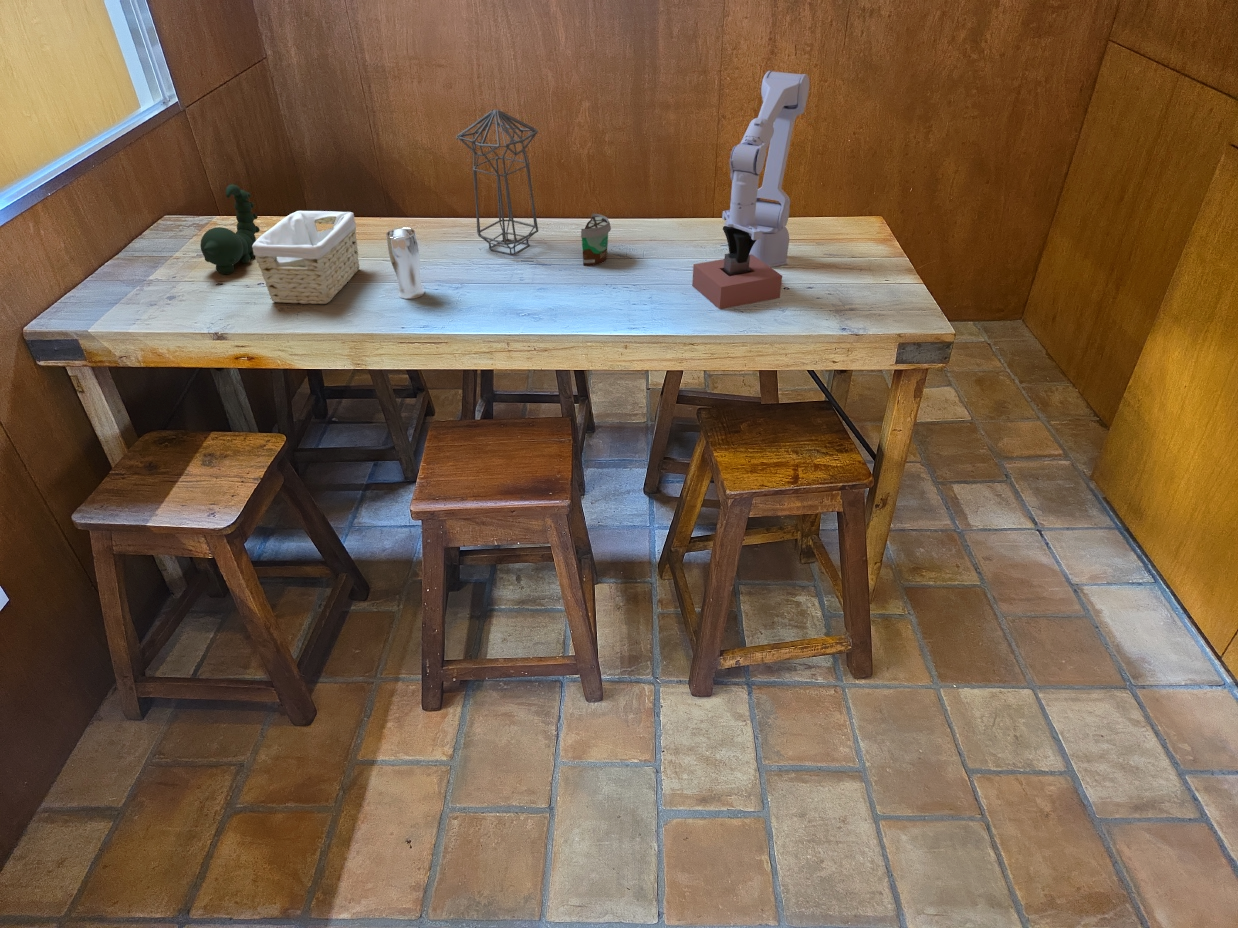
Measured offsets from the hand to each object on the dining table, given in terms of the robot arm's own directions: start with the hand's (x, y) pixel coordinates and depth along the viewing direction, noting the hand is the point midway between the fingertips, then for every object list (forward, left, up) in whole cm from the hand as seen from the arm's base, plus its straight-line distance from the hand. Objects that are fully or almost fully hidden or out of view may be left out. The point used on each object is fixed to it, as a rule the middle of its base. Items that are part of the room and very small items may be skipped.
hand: (738, 259), depth 183 cm
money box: (0, 0, -8) cm, 8 cm away
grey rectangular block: (0, 0, -3) cm, 3 cm away
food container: (+23, -31, -8) cm, 39 cm away
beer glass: (+72, -29, -8) cm, 78 cm away
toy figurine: (+110, -65, -8) cm, 128 cm away
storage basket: (+92, -43, -8) cm, 102 cm away
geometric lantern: (+43, -47, -8) cm, 64 cm away
